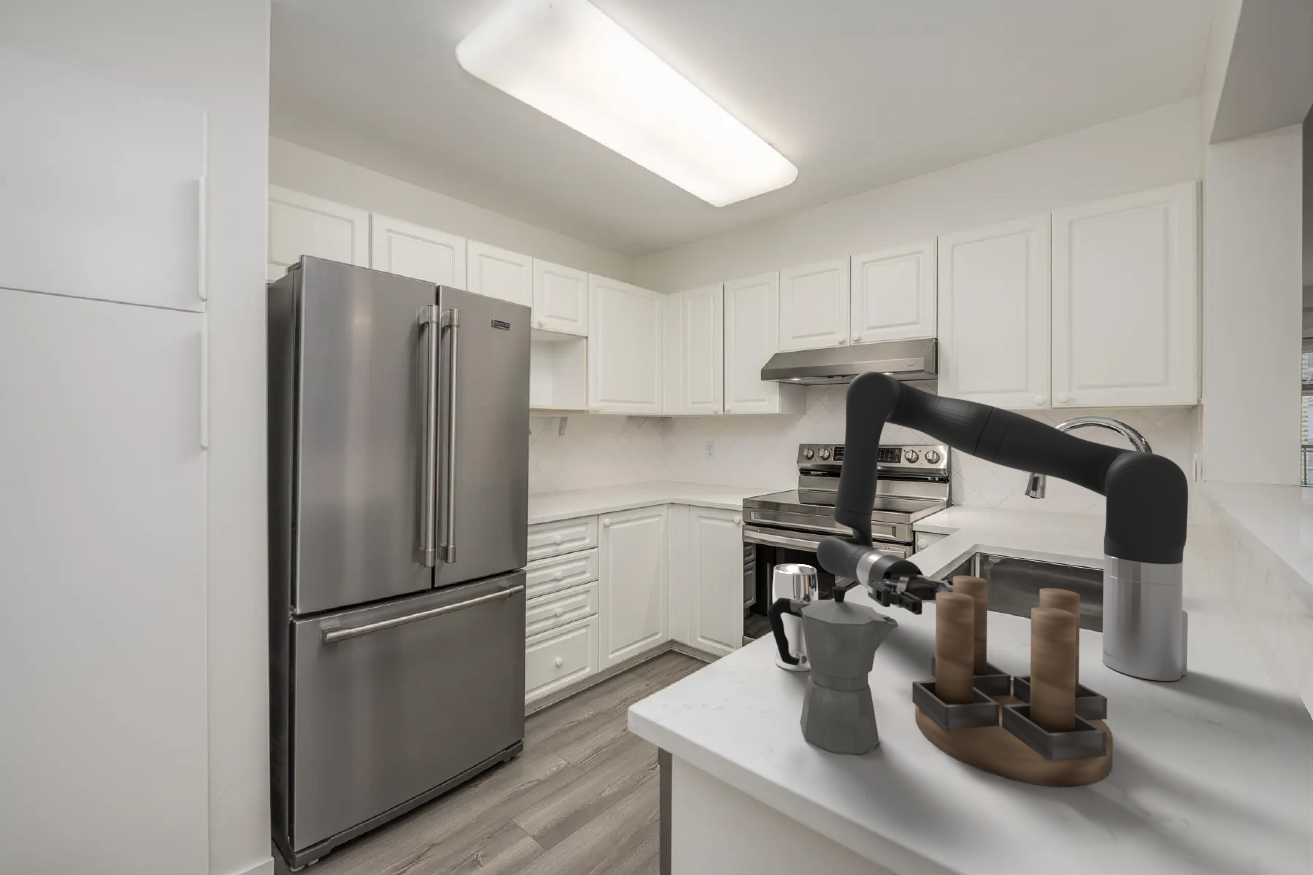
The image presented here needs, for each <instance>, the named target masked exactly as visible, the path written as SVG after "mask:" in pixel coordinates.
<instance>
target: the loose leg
mask: <svg viewBox="0 0 1313 875" xmlns="http://www.w3.org/2000/svg"><path fill="white" fill-rule="evenodd" d="M952 579H953V592H957V593H962V594H966V595H969V596H972V597H973V598H974V667H973V676H978V675H987V662H988V661H987V660H988V658H987V657H988V655H987V654H988V651H987V650H988V580H987V579H985V578H982V577H979V576H973V575H972V576H971V575H955V576H953V577H952Z"/></svg>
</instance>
